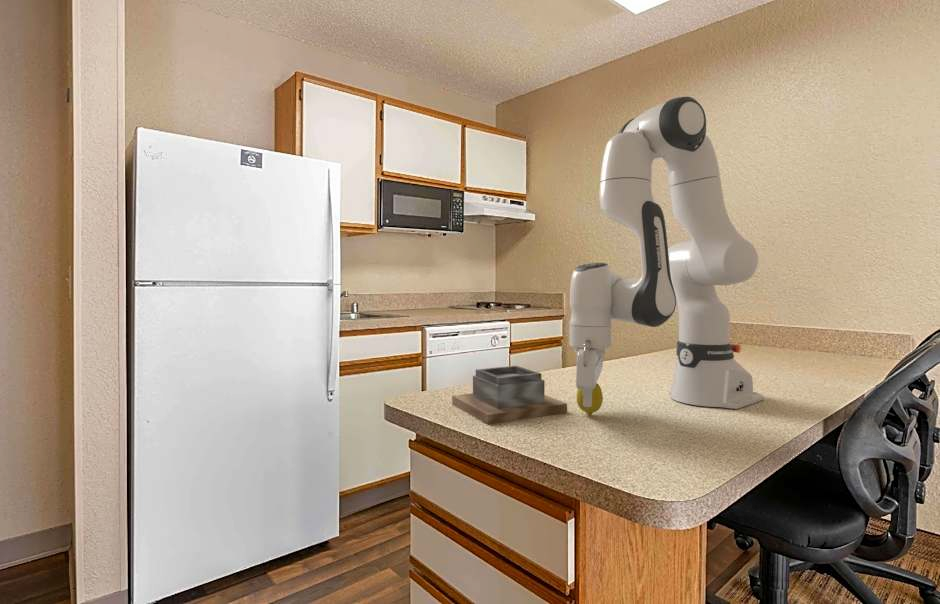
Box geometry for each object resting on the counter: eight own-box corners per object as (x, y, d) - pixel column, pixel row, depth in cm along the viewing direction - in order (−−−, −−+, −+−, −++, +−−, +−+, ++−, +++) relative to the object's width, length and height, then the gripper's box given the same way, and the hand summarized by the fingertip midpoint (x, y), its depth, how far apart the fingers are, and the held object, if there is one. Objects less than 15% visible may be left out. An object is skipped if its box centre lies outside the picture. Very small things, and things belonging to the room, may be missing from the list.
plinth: (523, 394, 127) (523, 361, 126) (566, 412, 111) (567, 374, 110) (452, 404, 118) (452, 368, 118) (487, 424, 102) (487, 383, 101)
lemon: (597, 420, 105) (597, 382, 104) (572, 416, 108) (572, 379, 107) (605, 414, 109) (606, 378, 109) (581, 410, 112) (582, 375, 112)
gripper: (601, 345, 97) (600, 415, 97) (608, 333, 116) (607, 391, 117) (568, 343, 99) (568, 412, 99) (580, 332, 118) (580, 389, 119)
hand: (589, 401), depth 108 cm, fingers open, 7 cm apart
